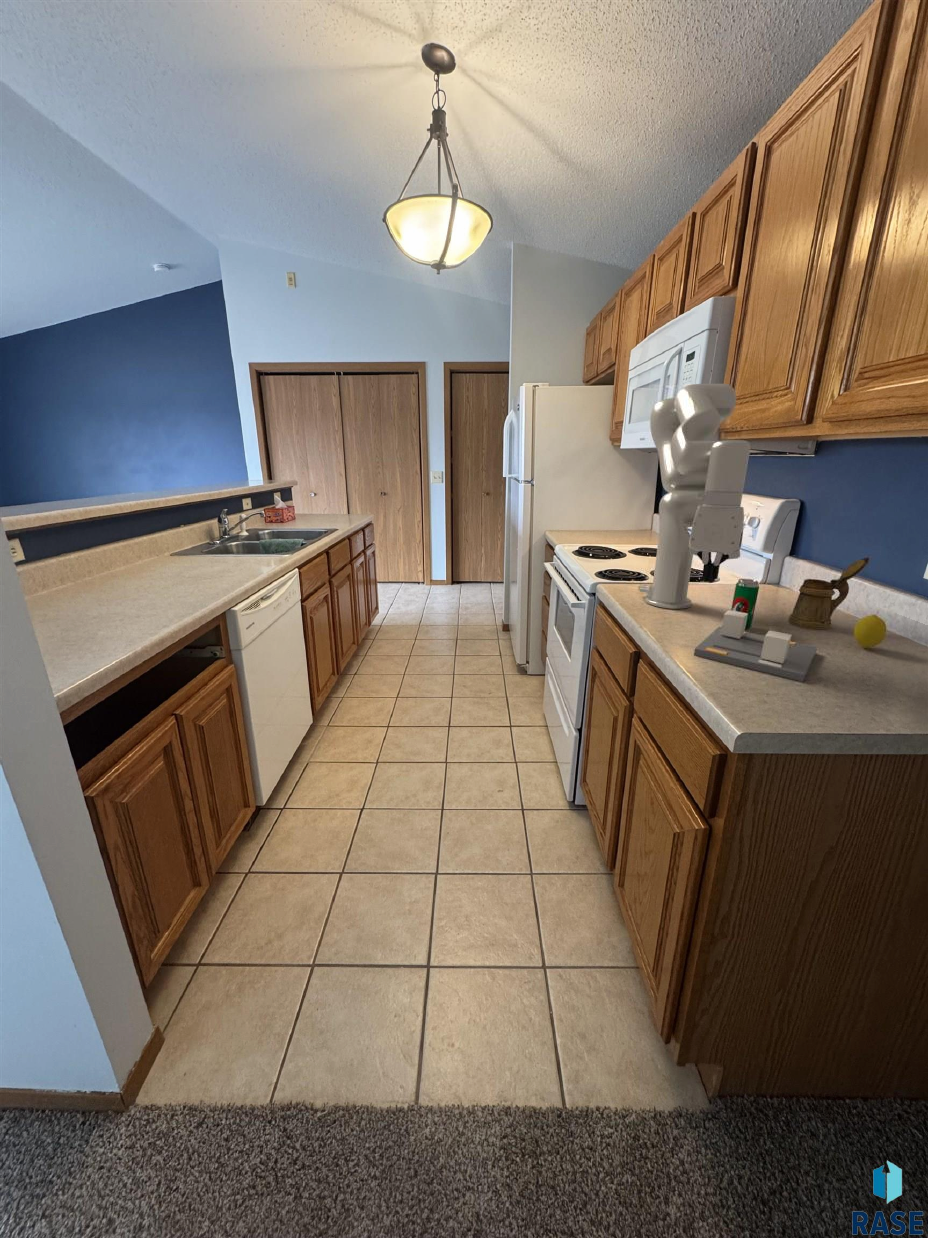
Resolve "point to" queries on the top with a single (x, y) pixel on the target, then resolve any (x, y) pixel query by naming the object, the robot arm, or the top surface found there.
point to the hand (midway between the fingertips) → (709, 581)
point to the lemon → (870, 631)
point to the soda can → (746, 598)
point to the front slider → (776, 646)
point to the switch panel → (756, 654)
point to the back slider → (734, 624)
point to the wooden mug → (822, 598)
